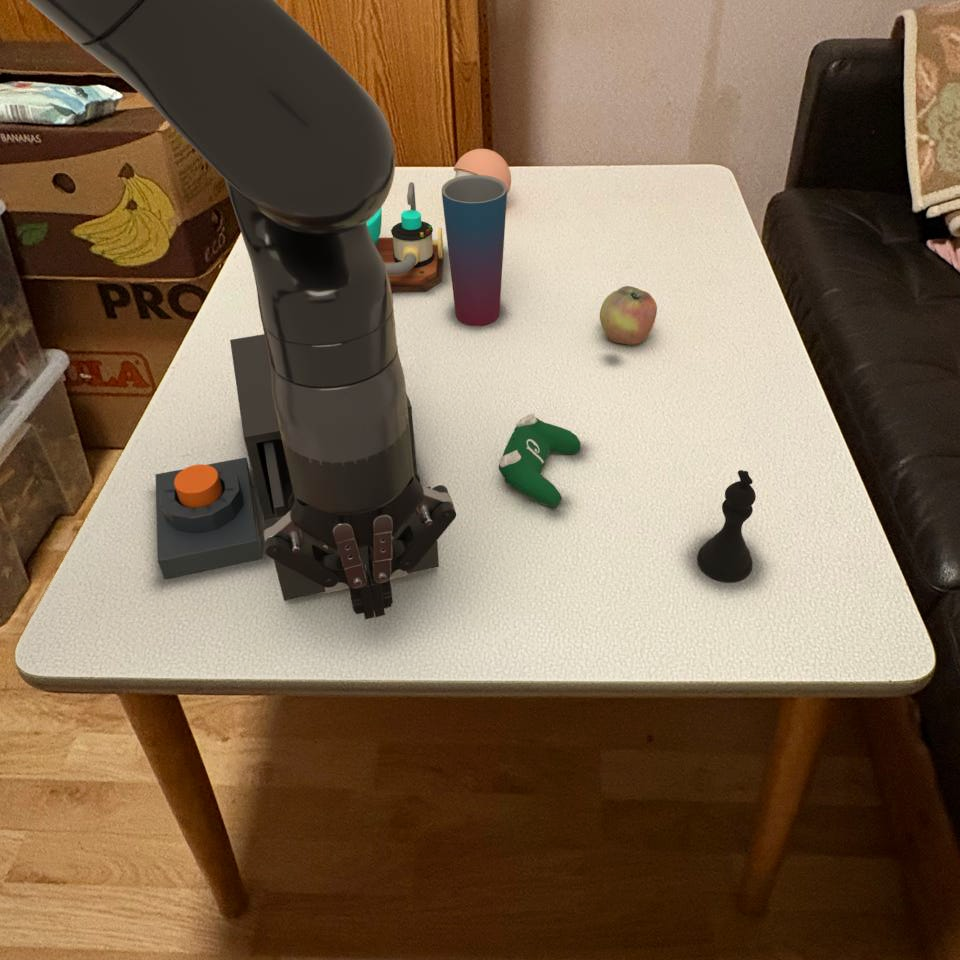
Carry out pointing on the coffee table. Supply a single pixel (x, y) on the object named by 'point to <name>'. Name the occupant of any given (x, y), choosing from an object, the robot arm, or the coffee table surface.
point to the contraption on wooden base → (409, 250)
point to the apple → (628, 315)
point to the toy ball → (484, 165)
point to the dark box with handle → (289, 579)
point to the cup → (475, 245)
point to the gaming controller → (535, 457)
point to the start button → (198, 485)
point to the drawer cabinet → (264, 411)
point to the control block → (207, 524)
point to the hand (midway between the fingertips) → (373, 608)
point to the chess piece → (730, 536)
